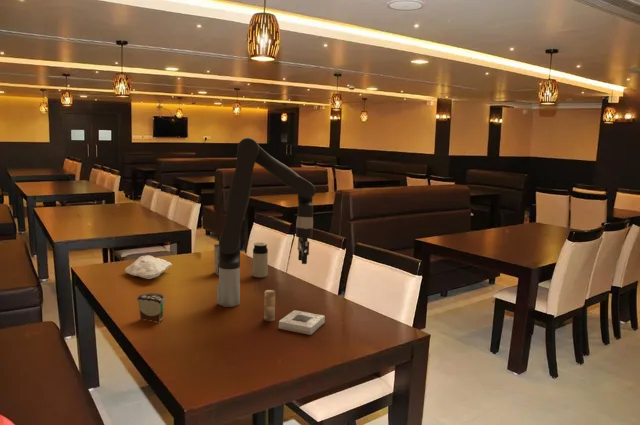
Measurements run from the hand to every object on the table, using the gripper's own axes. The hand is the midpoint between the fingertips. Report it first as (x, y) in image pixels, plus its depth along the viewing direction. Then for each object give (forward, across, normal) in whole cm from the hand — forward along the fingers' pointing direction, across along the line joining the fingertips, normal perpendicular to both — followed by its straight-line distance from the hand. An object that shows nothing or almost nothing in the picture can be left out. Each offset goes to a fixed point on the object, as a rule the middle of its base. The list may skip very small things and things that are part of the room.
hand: (302, 262), depth 216 cm
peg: (+22, +15, -16) cm, 31 cm away
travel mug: (+18, -48, -14) cm, 53 cm away
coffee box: (+18, -56, -33) cm, 67 cm away
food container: (+23, +8, -62) cm, 67 cm away
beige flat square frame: (+22, +24, -3) cm, 32 cm away
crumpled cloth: (+20, -56, -72) cm, 93 cm away
